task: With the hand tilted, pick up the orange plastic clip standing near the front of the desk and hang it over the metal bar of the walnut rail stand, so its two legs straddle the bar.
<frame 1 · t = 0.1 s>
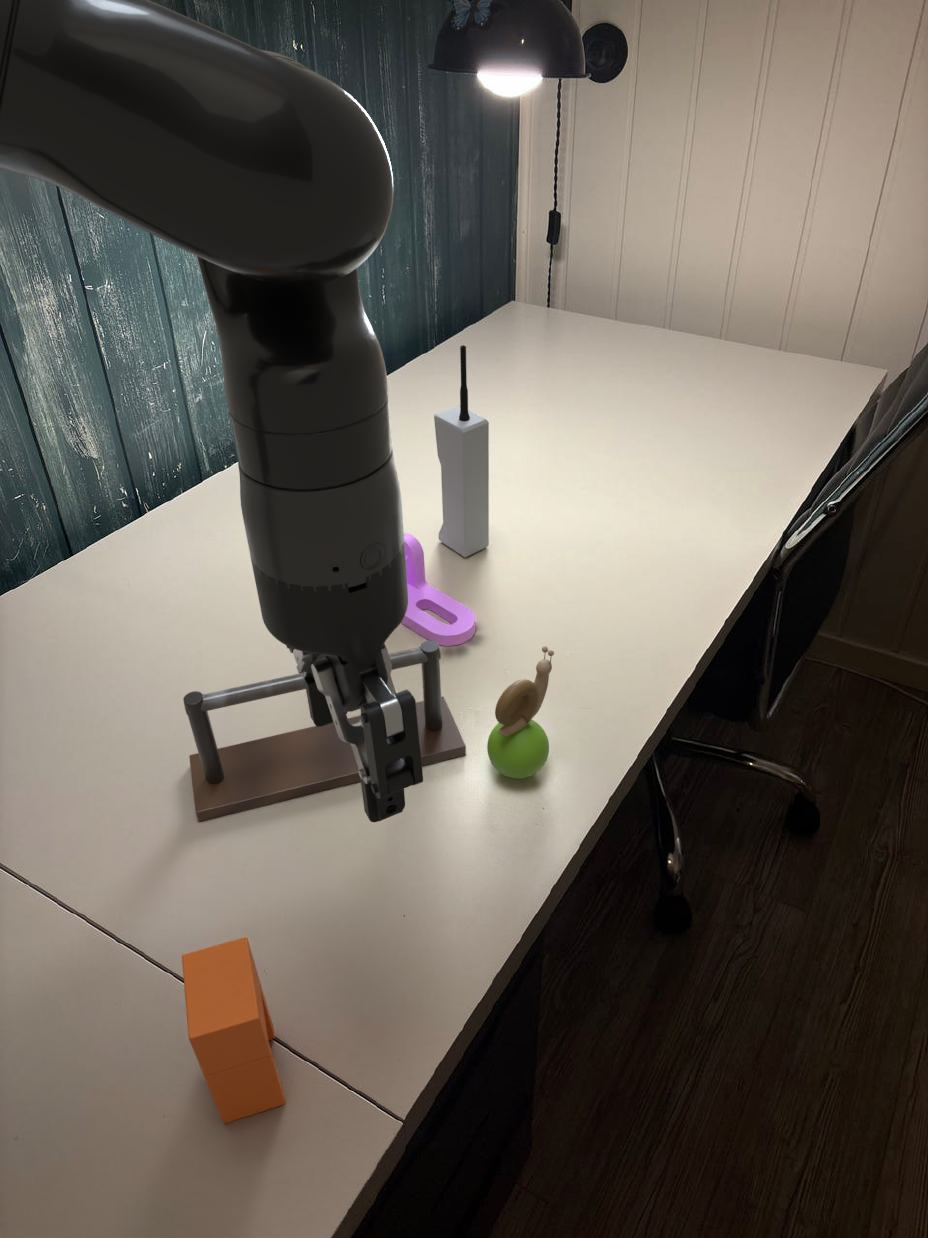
hand: (356, 764, 55), 21 cm above the table, tool pointing down, fingers open, 8 cm apart
vintage mobile phone: (463, 546, 111), on the table
clip: (249, 1073, 61), on the table
rail stand: (329, 759, 83), on the table
bracket: (425, 615, 100), on the table
snail figurine: (521, 766, 83), on the table
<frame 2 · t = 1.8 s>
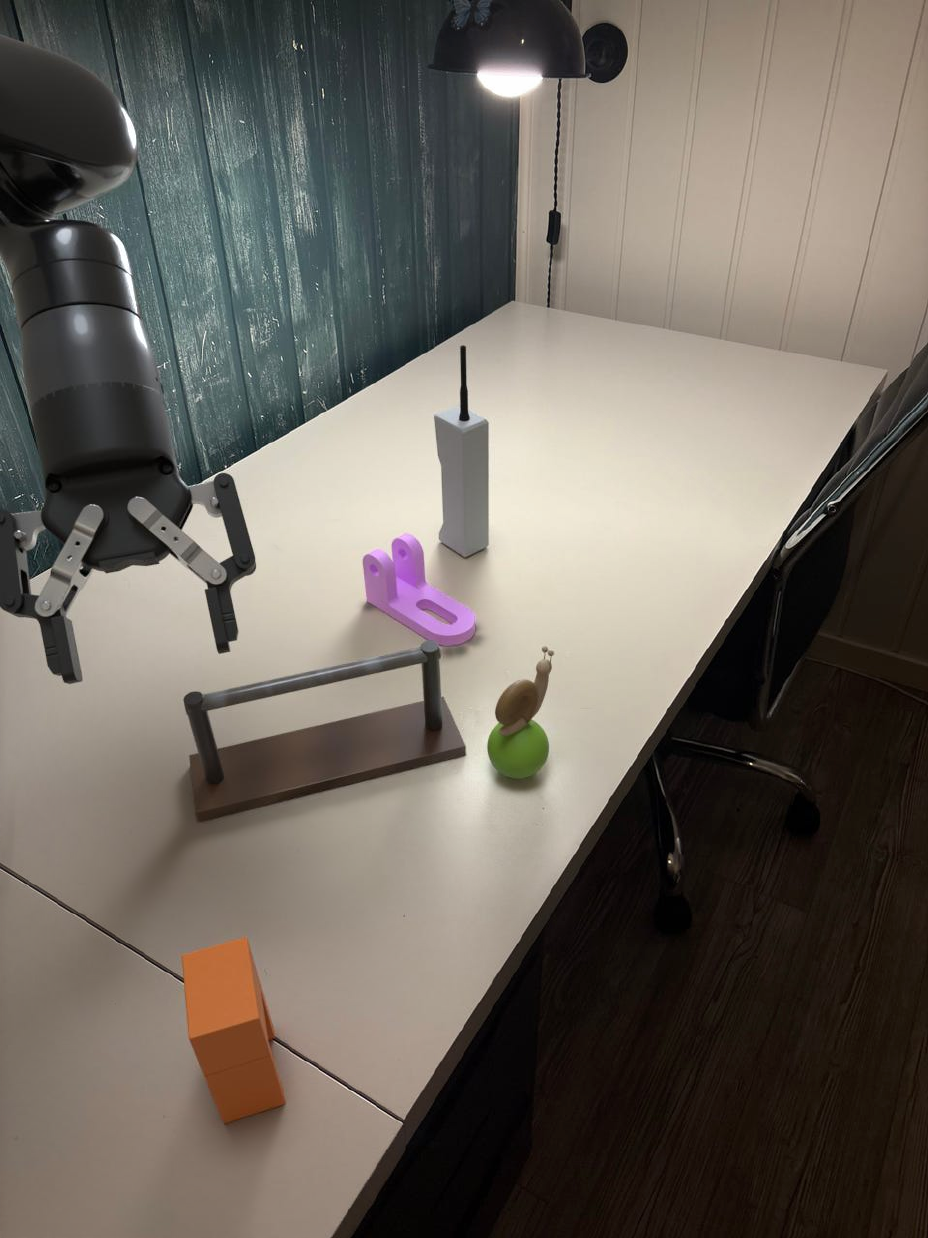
hand: (150, 666, 53), 27 cm above the table, tool tilted 45°, fingers open, 8 cm apart
nothing on the table moved.
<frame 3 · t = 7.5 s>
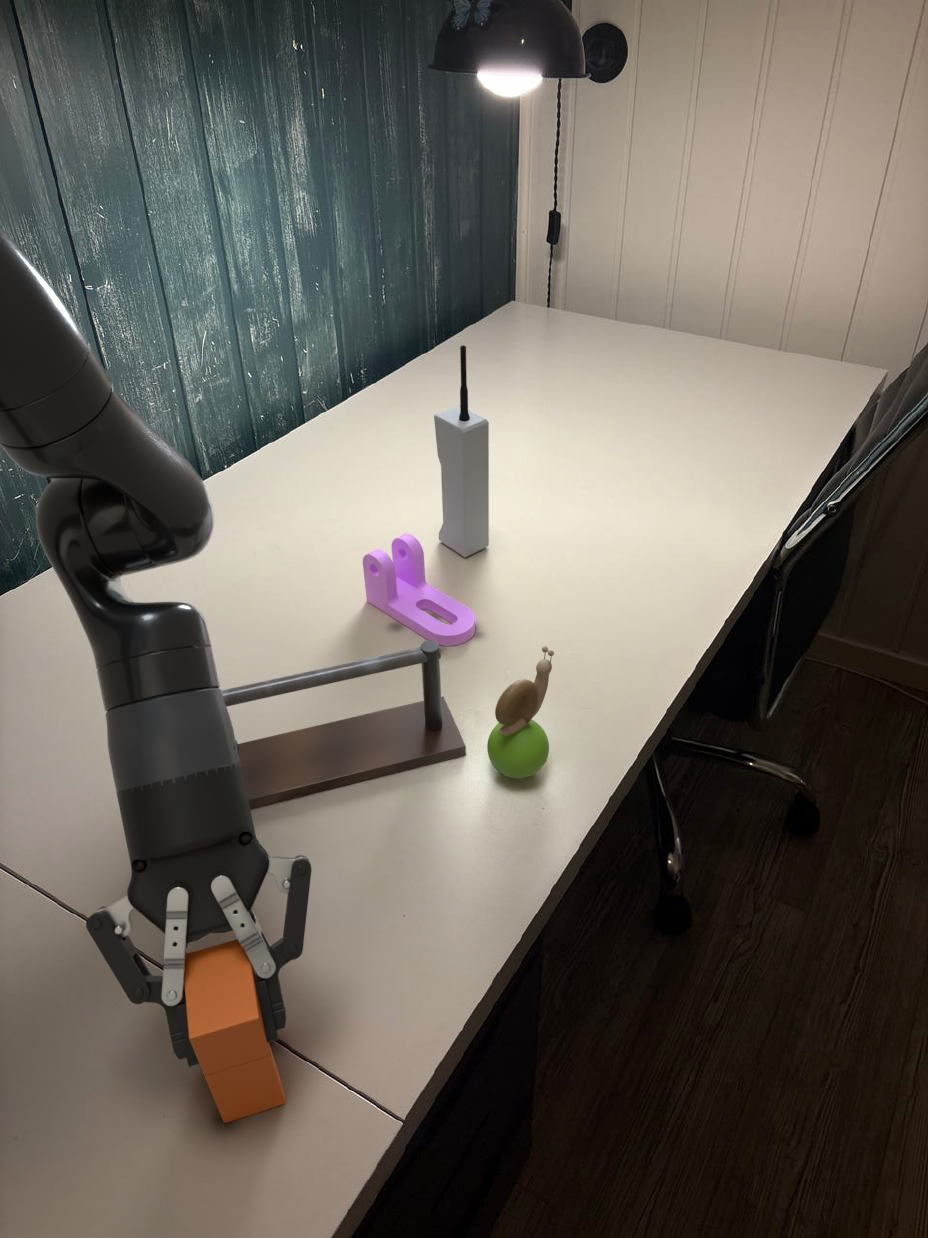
hand: (235, 1048, 56), 7 cm above the table, tool tilted 45°, fingers closed on clip, 4 cm apart
clip: (249, 1072, 61), on the table, touching gripper
everything else where it was.
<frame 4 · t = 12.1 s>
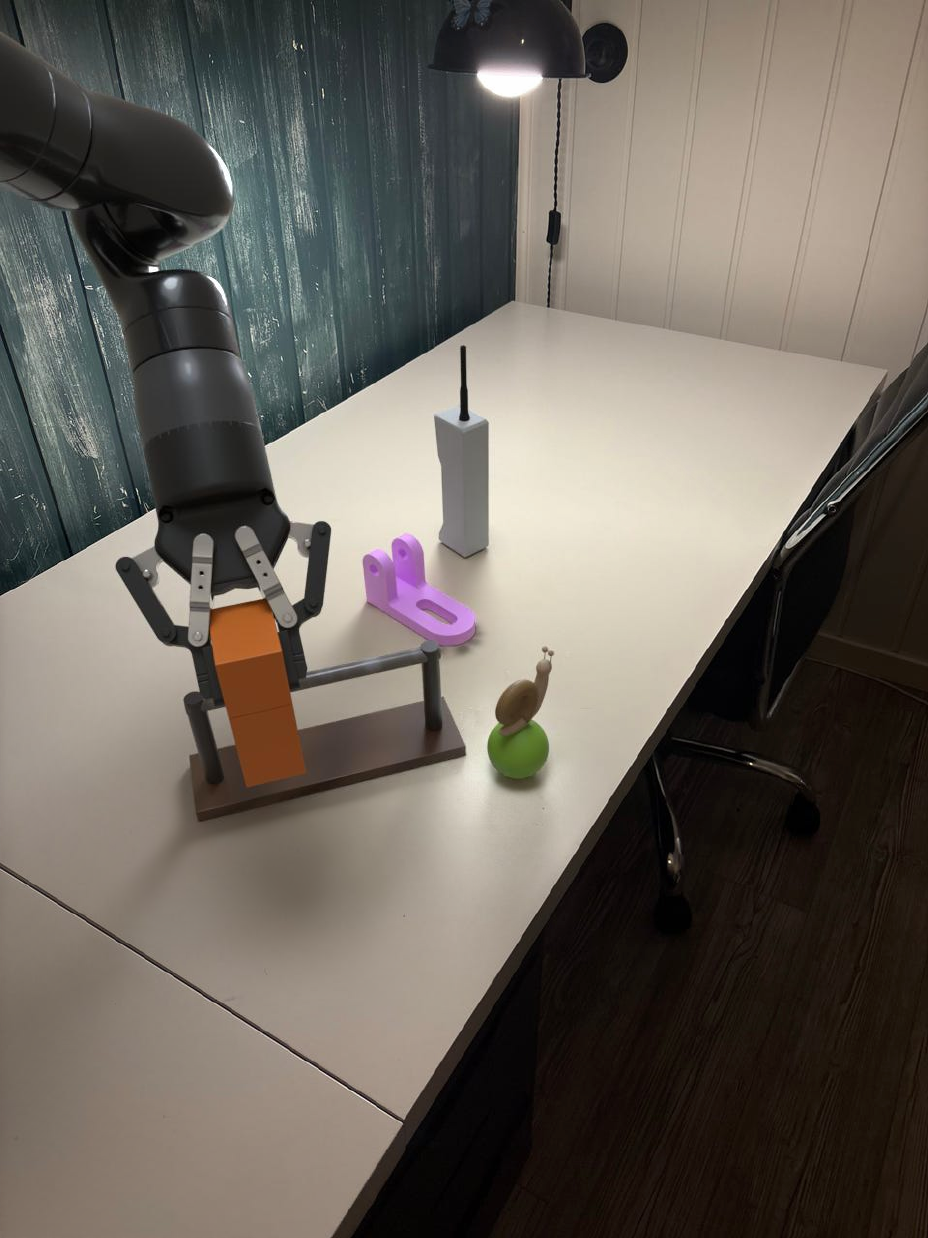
hand: (258, 696, 58), 22 cm above the table, tool tilted 45°, fingers closed on clip, 4 cm apart
clip: (270, 751, 64), point 15 cm above the table, touching gripper
everything else where it was.
when the fingers open (11 cm above the table, at t = 17.2 s): clip moves 1 cm, resting on rail stand.
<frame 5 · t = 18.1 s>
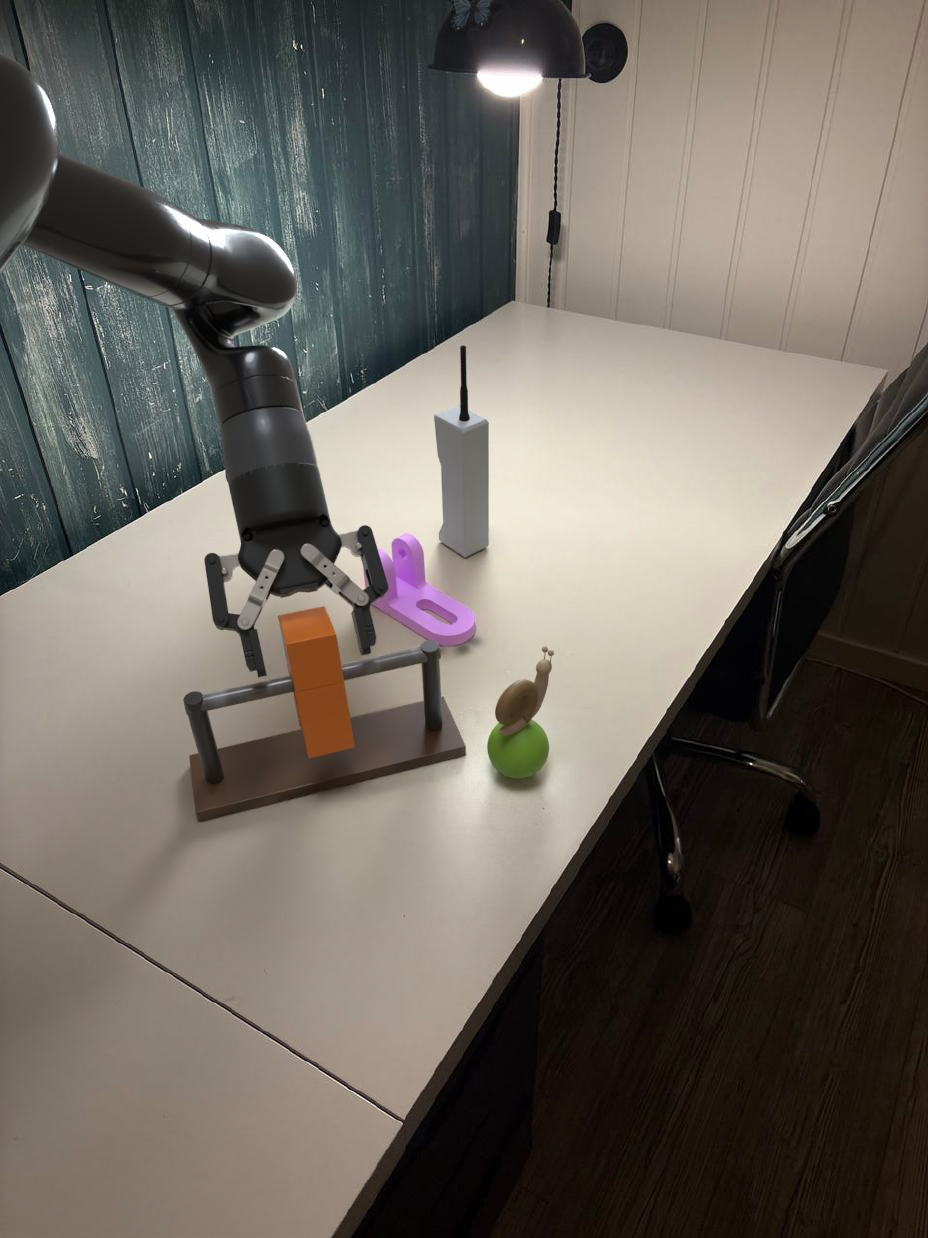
hand: (315, 664, 75), 13 cm above the table, tool tilted 45°, fingers open, 8 cm apart
clip: (326, 736, 80), point 4 cm above the table, tilted 12°, touching rail stand
everything else where it was.
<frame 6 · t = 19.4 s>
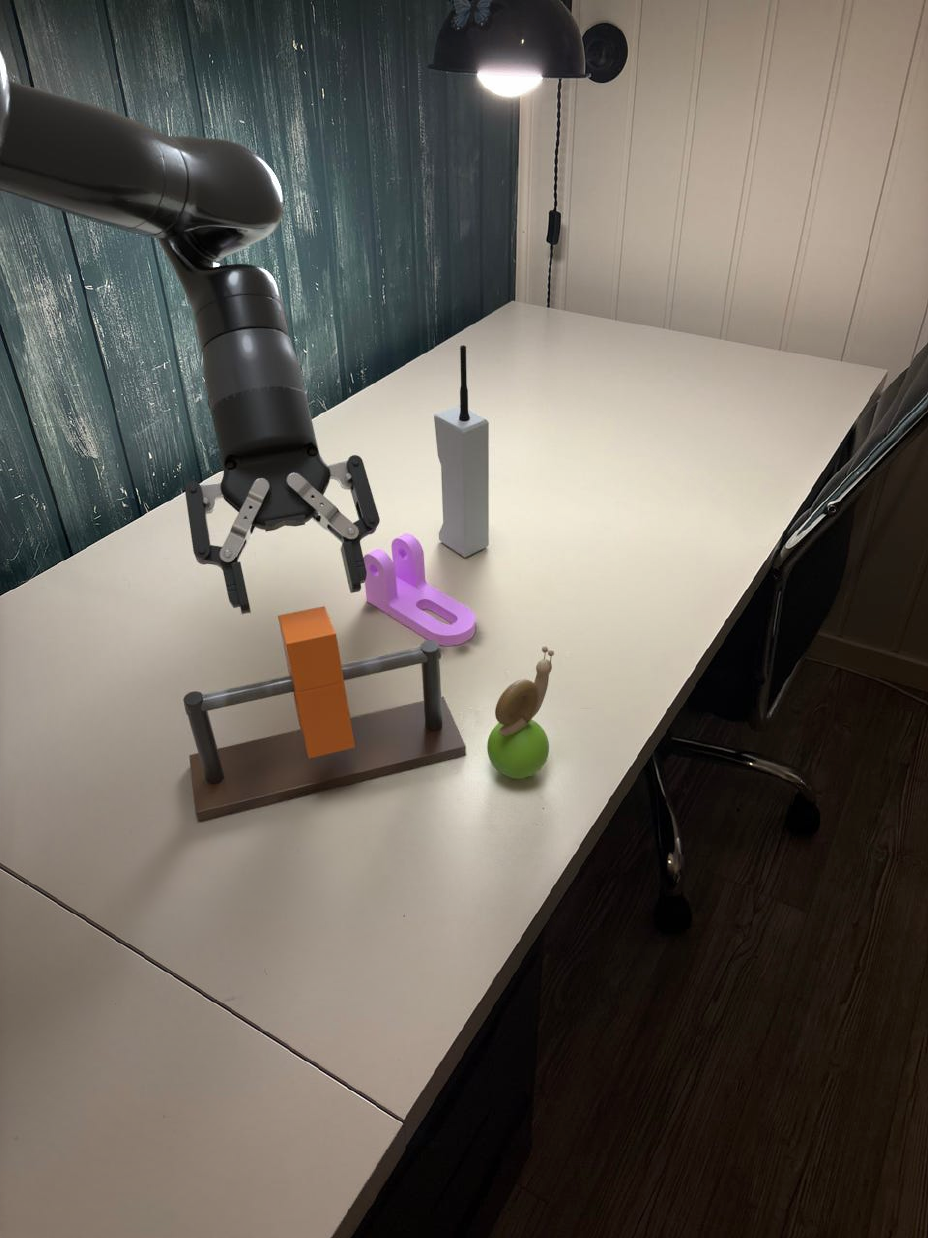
hand: (302, 601, 71), 19 cm above the table, tool tilted 45°, fingers open, 8 cm apart
nothing on the table moved.
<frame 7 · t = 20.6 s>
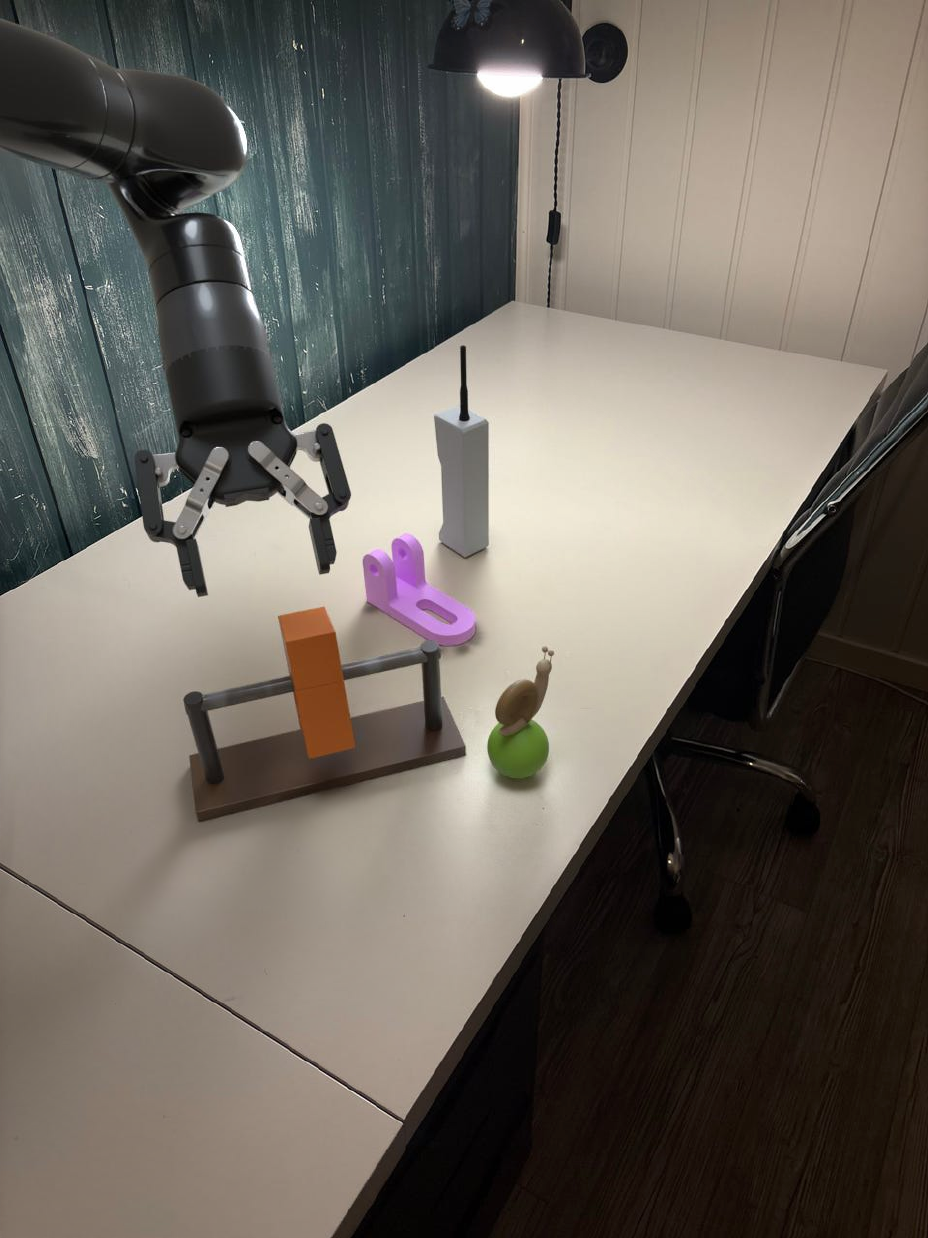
hand: (265, 583, 64), 24 cm above the table, tool tilted 45°, fingers open, 8 cm apart
nothing on the table moved.
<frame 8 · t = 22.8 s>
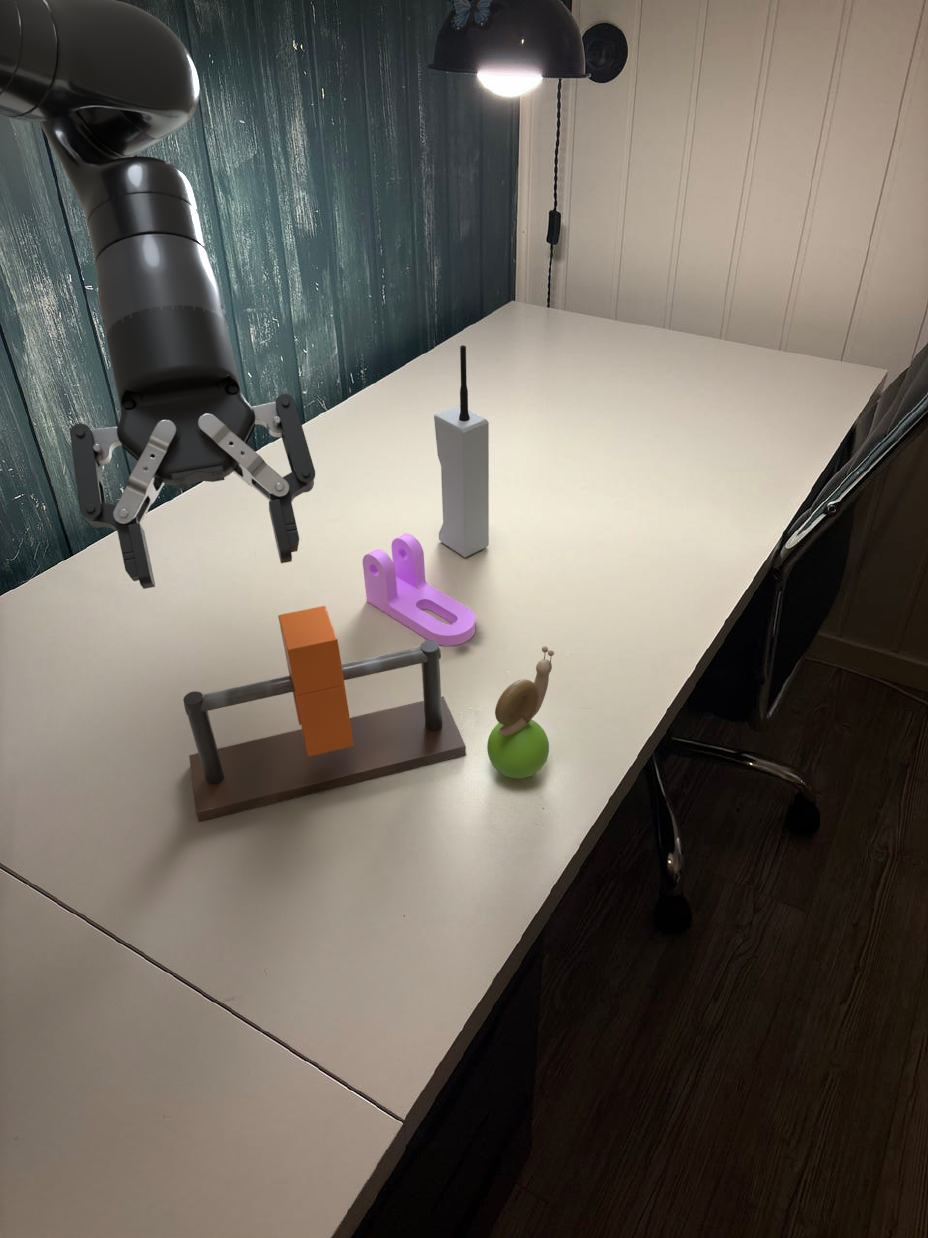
hand: (218, 572, 57), 29 cm above the table, tool tilted 45°, fingers open, 8 cm apart
clip: (325, 732, 80), point 4 cm above the table, tilted 7°, touching rail stand
everything else where it was.
at the end: clip inside the target area on the rail stand (1.4 cm from its centre), point 4.4 cm above the rail stand's base; clip touching rail stand; the gripper is holding nothing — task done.
